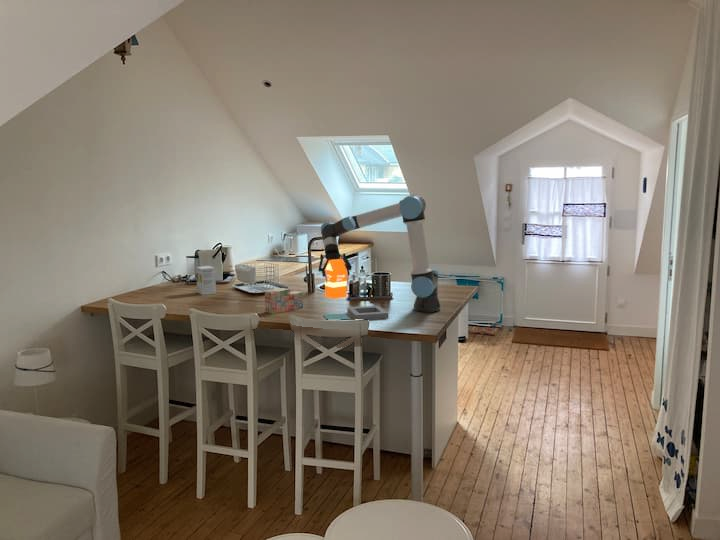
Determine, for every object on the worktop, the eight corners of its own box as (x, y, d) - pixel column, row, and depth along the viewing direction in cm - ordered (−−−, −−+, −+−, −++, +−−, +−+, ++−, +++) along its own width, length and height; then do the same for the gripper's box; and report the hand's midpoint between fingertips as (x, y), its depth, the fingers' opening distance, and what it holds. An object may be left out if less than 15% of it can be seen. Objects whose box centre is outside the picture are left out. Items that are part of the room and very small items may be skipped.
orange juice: (324, 296, 316) (324, 259, 313) (338, 294, 321) (338, 257, 318) (333, 299, 310) (332, 261, 306) (347, 296, 315) (346, 259, 311)
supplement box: (196, 292, 382) (195, 266, 379) (210, 291, 388) (209, 265, 385) (202, 295, 374) (201, 268, 372) (216, 293, 380) (215, 267, 377)
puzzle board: (378, 310, 332) (378, 305, 332) (388, 318, 315) (388, 313, 314) (347, 312, 328) (347, 307, 327) (355, 320, 311) (355, 315, 310)
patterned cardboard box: (296, 306, 344) (295, 285, 342) (303, 308, 339) (302, 287, 337) (265, 312, 330) (264, 290, 328) (271, 314, 325) (271, 292, 323)
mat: (345, 314, 324) (345, 313, 324) (350, 319, 313) (350, 318, 313) (323, 315, 321) (323, 314, 321) (327, 321, 310) (327, 320, 310)
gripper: (350, 250, 329) (357, 283, 317) (309, 252, 323) (314, 285, 311) (352, 242, 323) (359, 275, 311) (310, 243, 318) (316, 277, 305)
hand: (337, 280), depth 311 cm, fingers closed on orange juice, 10 cm apart
